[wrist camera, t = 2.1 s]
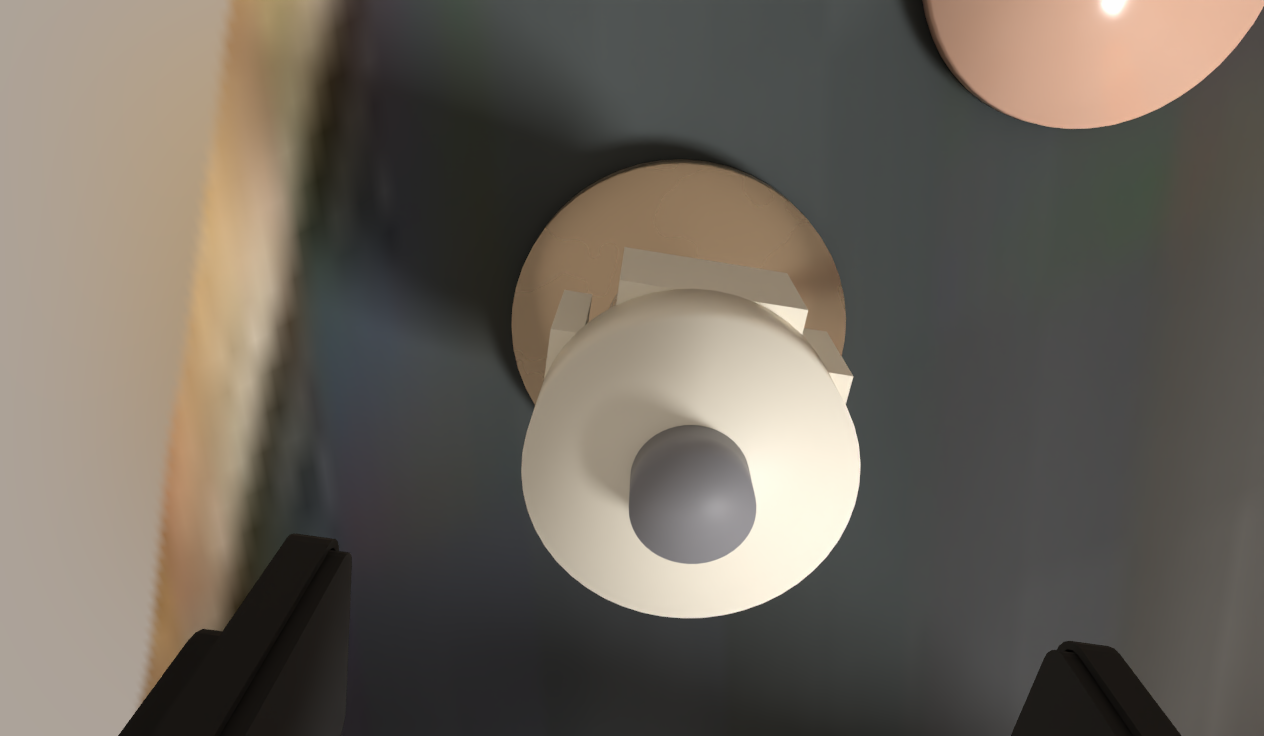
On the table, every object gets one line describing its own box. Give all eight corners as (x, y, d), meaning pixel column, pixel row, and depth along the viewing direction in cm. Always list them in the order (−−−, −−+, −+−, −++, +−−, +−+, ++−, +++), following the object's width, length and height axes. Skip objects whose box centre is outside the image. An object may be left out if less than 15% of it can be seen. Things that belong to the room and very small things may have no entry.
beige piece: (875, 189, 25) (971, 254, 17) (797, 486, 28) (849, 646, 21) (536, 133, 24) (484, 175, 17) (501, 441, 28) (445, 587, 21)
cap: (844, 278, 21) (919, 372, 15) (782, 517, 23) (826, 677, 17) (567, 233, 20) (533, 311, 15) (534, 480, 23) (495, 629, 17)
